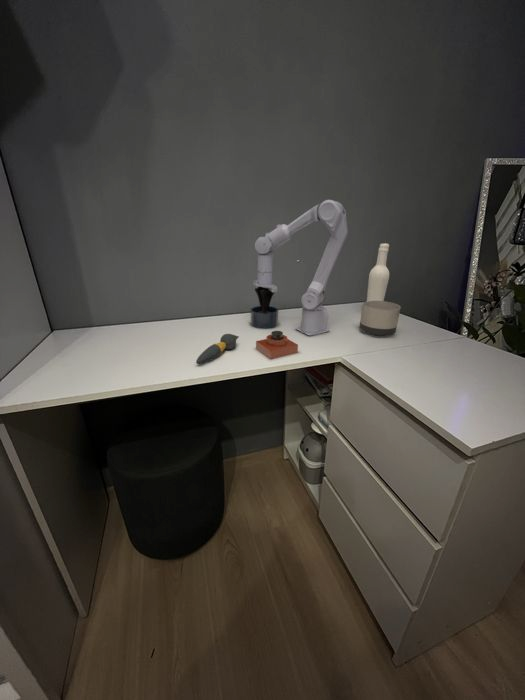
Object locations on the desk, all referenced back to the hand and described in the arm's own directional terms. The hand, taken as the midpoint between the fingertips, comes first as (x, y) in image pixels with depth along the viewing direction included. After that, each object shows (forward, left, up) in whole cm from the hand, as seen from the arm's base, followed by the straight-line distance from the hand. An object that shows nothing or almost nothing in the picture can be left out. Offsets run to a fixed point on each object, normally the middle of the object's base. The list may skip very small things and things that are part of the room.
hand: (264, 307), depth 116 cm
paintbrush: (+27, +19, -7) cm, 34 cm away
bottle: (-47, +14, -7) cm, 49 cm away
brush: (0, 0, -7) cm, 7 cm away
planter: (-32, +29, -7) cm, 43 cm away
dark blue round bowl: (0, 0, -7) cm, 7 cm away
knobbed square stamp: (+10, +25, -7) cm, 27 cm away
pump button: (+10, +25, -3) cm, 27 cm away
